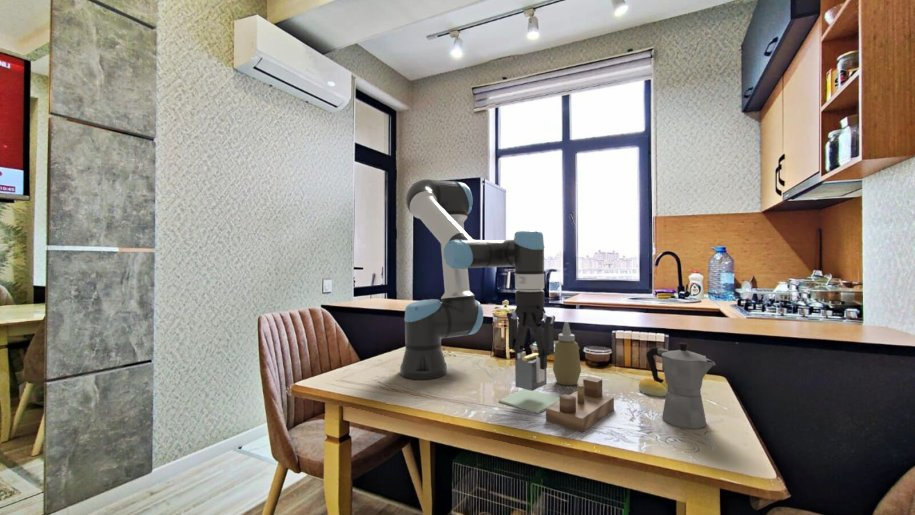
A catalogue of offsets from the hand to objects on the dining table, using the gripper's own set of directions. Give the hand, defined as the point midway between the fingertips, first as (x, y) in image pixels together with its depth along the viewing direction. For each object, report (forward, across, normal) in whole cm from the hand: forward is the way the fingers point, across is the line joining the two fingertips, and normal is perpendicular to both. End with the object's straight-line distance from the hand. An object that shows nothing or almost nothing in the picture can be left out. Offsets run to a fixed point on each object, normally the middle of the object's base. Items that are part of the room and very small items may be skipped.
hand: (531, 378), depth 107 cm
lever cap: (+2, 0, 0) cm, 2 cm away
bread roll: (+6, +22, +29) cm, 37 cm away
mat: (+6, 0, 0) cm, 6 cm away
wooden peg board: (+6, +14, 0) cm, 15 cm away
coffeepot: (+6, +32, +13) cm, 35 cm away
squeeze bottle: (+6, 0, +20) cm, 21 cm away
